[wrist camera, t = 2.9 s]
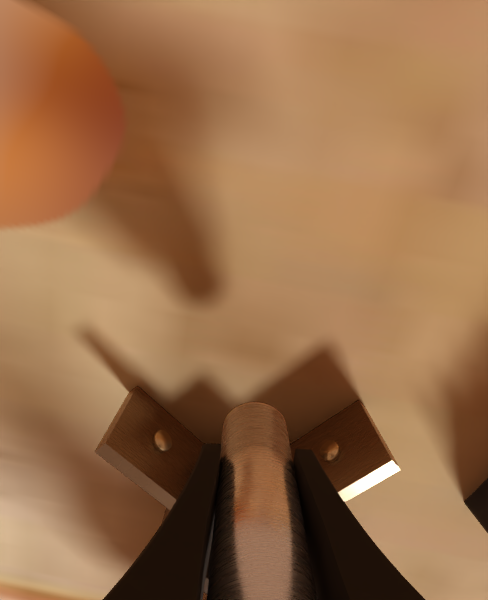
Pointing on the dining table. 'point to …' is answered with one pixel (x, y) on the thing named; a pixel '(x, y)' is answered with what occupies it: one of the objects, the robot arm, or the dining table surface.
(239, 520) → the pin
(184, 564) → the robot arm
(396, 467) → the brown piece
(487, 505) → the ammunition clip
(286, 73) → the dining table surface
